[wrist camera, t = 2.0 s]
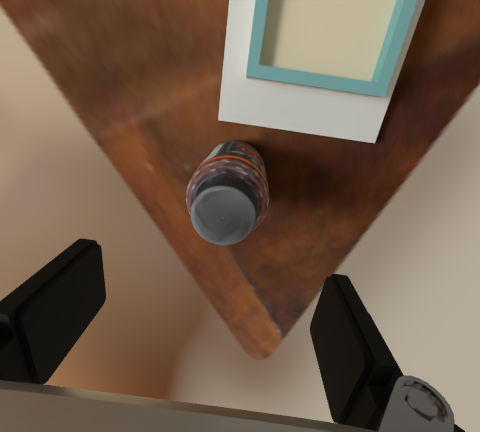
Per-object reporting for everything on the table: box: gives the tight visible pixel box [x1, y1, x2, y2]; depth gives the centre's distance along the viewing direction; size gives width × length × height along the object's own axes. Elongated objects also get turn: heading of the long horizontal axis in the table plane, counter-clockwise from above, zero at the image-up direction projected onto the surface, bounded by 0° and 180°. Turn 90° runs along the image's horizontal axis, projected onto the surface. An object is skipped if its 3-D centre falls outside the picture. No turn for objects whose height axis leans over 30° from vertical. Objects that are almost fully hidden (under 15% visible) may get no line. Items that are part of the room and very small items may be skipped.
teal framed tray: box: [218, 0, 425, 143], centre depth 18 cm, size 17×14×4 cm
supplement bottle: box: [186, 141, 270, 245], centre depth 20 cm, size 6×6×11 cm
